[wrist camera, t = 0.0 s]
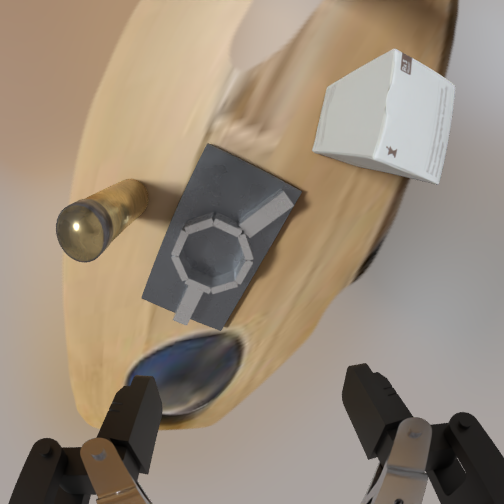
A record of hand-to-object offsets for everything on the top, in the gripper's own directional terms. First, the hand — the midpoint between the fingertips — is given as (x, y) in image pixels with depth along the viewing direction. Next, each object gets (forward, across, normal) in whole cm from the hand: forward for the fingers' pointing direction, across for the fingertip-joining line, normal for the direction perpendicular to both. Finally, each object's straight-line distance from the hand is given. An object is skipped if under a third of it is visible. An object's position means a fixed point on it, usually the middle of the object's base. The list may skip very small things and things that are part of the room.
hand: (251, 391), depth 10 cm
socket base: (+22, +3, -1) cm, 23 cm away
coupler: (+22, +12, -7) cm, 26 cm away
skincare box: (+21, -12, -14) cm, 28 cm away
